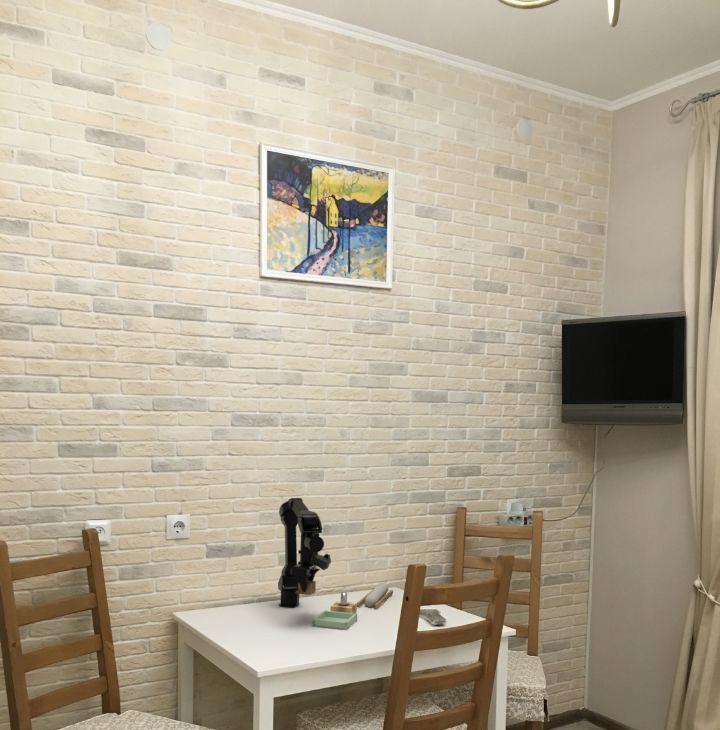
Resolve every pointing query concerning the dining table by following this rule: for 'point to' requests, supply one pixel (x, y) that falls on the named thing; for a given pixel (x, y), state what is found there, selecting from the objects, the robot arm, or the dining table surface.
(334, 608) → the oak block
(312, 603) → the dining table surface
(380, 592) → the tube
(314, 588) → the walnut block
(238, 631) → the dining table surface
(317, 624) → the tray
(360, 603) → the tube rest
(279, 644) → the dining table surface
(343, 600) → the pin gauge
